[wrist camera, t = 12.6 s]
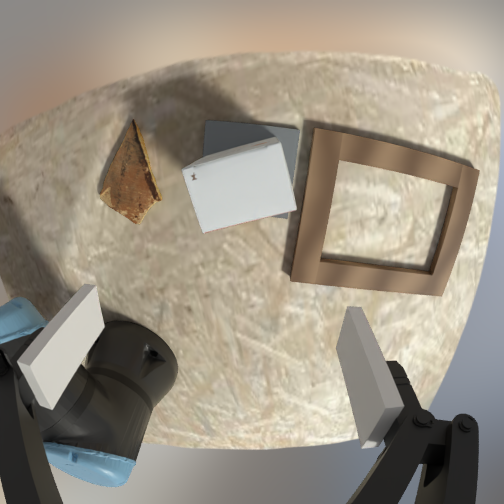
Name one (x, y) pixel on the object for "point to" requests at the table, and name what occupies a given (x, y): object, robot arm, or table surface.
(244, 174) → the small box
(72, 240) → the table surface
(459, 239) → the wooden picture frame
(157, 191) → the shard
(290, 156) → the pad
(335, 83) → the table surface
